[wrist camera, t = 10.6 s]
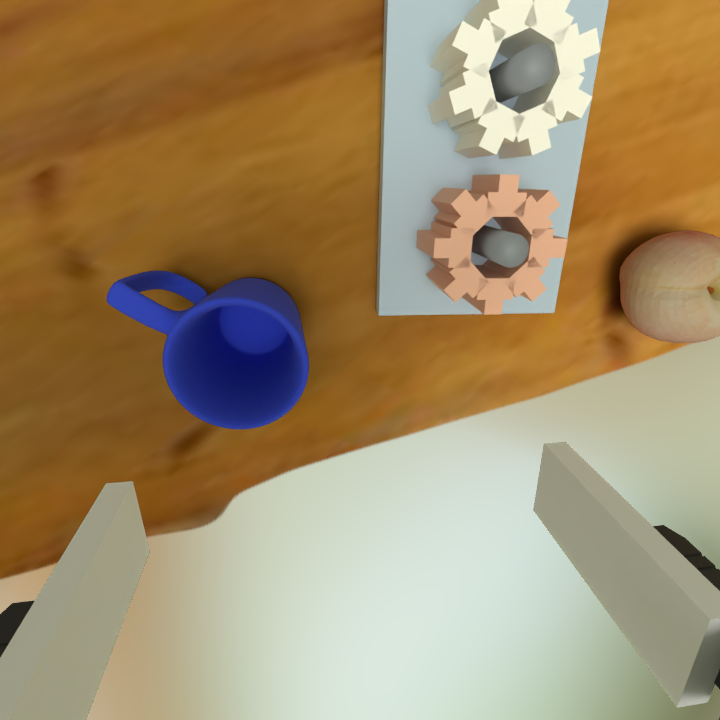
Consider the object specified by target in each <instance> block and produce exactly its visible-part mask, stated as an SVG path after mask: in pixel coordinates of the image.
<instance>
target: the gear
mask: <svg viewBox="0 0 720 720" xmlns="http://www.w3.org/2000/svg"><path fill="white" fill-rule="evenodd" d="M569 2H570V0H481V1H480V2H479V3H478V4H477V5H476V6H475V7H474V8H473V9H472V10H471V11H470V12H469V13H468V14H467V16H466V17H465V18H464V19H465V22H464V21H462V22H461V23H460V24H459V25H458V26H457V27H456V28H455V29H454V30H453V31H452V32H451V33H450V34H449V35H448V36H447V37H446V38H445V39H444V41H443V42H442V43H441V44H440V45H439V46H438V47H437V50H436V52H435V55H434V57H433V60H432V62H431V64H430V67H431V68H433V69H435V70H437V71H439V72H440V73H442V74H443V76H442V78H441V81H440V83H439V84H440V85H442V86H443V87H441V88H440V89H439V92H440V95H441V97H440V98H438V99H437V100H435V101H434V102H432V103H430V104H429V105H427V106H428V110H429V113H430V116H431V120H432V123H433V124H436V123H438V122H440V121H443V120H445V119H447V120H448V124H449V127H450V128H451V127H454V126H455V128H454V130H453V132H454V133H456V134H458V135H460V138H459V140H458V142H457V144H456V147H455V149H454V151H455V152H457V153H459V154H461V155H463V156H465V157H467V158H476V157H483V156H491V155H496V154H497V152H498V155H499V159H504V158H514V157H523V156H532V155H535V154H537V153H539V152H542V151H544V150H546V149H549V148H551V143H550V138H549V133H548V129H550V128H553V127H555V126H557V124H559V123H563V122H568V121H572V120H577V119H581V118H582V116H583V114H584V112H585V110H586V109H587V107H588V105H589V103H590V101H591V99H592V96H590V95H588V94H587V93H585V92H583V91H582V90H580V89H579V87H580V85H581V83H582V81H583V79H584V77H583V76H581V75H579V74H580V73H582V72H584V71H585V66H584V60H583V59H585V58H588V57H590V56H592V55H594V54H597V53H599V52H600V46H599V39H598V33H597V28H594V29H592V30H590V31H587V32H585V33H583V34H581V35H579V31H578V25H577V23H575V24H573V25H571V23H572V21H573V19H574V17H572V16H571V15H569V14H568V13H566V12H565V11H566V9H567V7H568V5H569ZM570 25H571V26H570ZM536 43H543V44H546V45H548V46H549V47H550V48H551V49H552V51H553V53H554V55H555V60H556V65H555V70H554V73H553V75H552V77H551V79H550V80H549V81H548V82H547V83H546V84H545V85H543V86H541V87H538V88H536V89H533V90H531V91H528V92H526V93H523V94H521V95H519V96H518V98H517V100H516V103H515V105H514V107H513V109H512V110H511V109H510V108H508V107H506V106H504V105H502V104H500V103H499V102H497V101H496V99H495V95H494V91H493V87H492V82H491V78H490V74H489V69H490V66H491V64H492V62H493V60H494V58H495V55H496V53H499V54H501V55H502V56H504V57H506V58H508V59H509V58H511V57H513V56H514V55H516V54H518V53H519V52H521V51H522V50H524V49H526V48H527V47H529V46H531V45H533V44H536Z"/></svg>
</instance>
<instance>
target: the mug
mask: <svg viewBox="0 0 720 720" xmlns="http://www.w3.org/2000/svg"><path fill="white" fill-rule="evenodd" d="M151 289H163V290H168V291H171V292H174V293H177V294H179V295H181V296H183V297H185V298H186V299H188V300H190V301H191V302H193V303H194V304H195V305H194V306H192V307H190V308H189V309H186V310H183V311H174V310H171V309H168V308H166V307H164V306H162V305H160V304H158V303H156V302H155V301H153V300H151V299H149V298H148V297H146V296H144V295H142V294H141V293H139V292H142V291H145V290H151ZM107 302H108V304H109V305H111V306H112V307H114V308H115V309H117V310H119V311H120V312H122V313H124V314H125V315H127V316H129V317H131V318H133V319H135V320H137V321H138V322H140V323H142V324H144V325H146V326H148V327H150V328H153V329H155V330H157V331H160V332H162V333H164V334H167V336H168V337H167V339H166V342H165V346H164V352H163V367H164V373H165V377H166V380H167V383H168V385H169V387H170V389H171V391H172V393H173V394H174V396H175V397H176V399H177V400H178V401H179V402H180V403H181V405H182V406H184V407H185V408H186V409H187V410H188V411H189V412H190V413H192V414H193V415H195V416H196V417H198V418H199V419H201V420H203V421H205V422H207V423H210V424H212V425H215V426H219V427H223V428H229V429H251V428H256V427H260V426H264V425H266V424H269V423H271V422H273V421H275V420H277V419H279V418H280V417H282V416H283V415H285V414H286V413H287V412H288V411H289V410H290V409H291V408H292V407H293V406H294V405H295V404H296V402H297V401H298V400H299V398H300V397H301V395H302V393H303V391H304V389H305V386H306V383H307V379H308V372H309V359H308V353H307V348H306V344H305V339H304V334H303V329H302V324H301V319H300V315H299V312H298V309H297V306H296V305H295V303H294V301H293V300H292V298H291V297H290V296H289V294H288V293H287V292H286V291H284V290H283V289H282V288H281V287H279V286H278V285H276V284H274V283H272V282H270V281H267V280H264V279H258V278H243V279H238V280H235V281H232V282H230V283H228V284H226V285H225V286H223V287H221V288H220V289H218V290H217V291H215V292H213V293H212V294H210V295H209V296H207V292H206V291H205V290H204V289H203V288H201V287H200V286H199V285H197V284H196V283H194V282H192V281H191V280H189V279H187V278H185V277H183V276H181V275H178V274H175V273H172V272H167V271H148V272H143V273H139V274H135V275H132V276H129V277H126V278H123V279H120V280H118V281H116V282H115V283H114V284H113V285H112V287H111V288H110V290H109V292H108V295H107Z"/></svg>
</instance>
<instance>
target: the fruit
mask: <svg viewBox="0 0 720 720" xmlns="http://www.w3.org/2000/svg"><path fill="white" fill-rule="evenodd" d="M619 279H620V289H621V304H622V307H623V310H624V313H625V315H626V317H627V318H628V320H629V321H630V323H631V324H632V325H633V326H634V327H635V328H636V329H637V330H639V331H640V332H641V333H643V334H644V335H646V336H649V337H652V338H654V339H657V340H660V341H666V342H672V343H696V342H702V341H706V340H710V339H713V338H715V337H718V336H720V238H719V237H717V236H714V235H711V234H707V233H703V232H698V231H687V230H686V231H676V232H669V233H665V234H662V235H659V236H657V237H654V238H652V239H650V240H648V241H646V242H645V243H643V244H641V245H640V246H639V247H637V248H636V249H635V250H634V251H632V252H631V254H630V255H629V256H628V257H627V258H626V259H625V261H624V262H623V264H622V266H621V268H620V275H619Z"/></svg>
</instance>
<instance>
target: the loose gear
mask: <svg viewBox="0 0 720 720" xmlns="http://www.w3.org/2000/svg"><path fill="white" fill-rule="evenodd" d="M519 177H520V175H508V174H495V175H473V177H472V188H471V190H466V189H458V188H442V189H441V190H440V191H439V192H438V193H437V194H436V195H435V196H434V197H433V198H432V199H431V201H432V203H433V204H434V205H435V206H436V207H437V208H438V210H439V212H438V213H437V214H436V215H435V216H434V218H435V220H436V221H431V230H417V242H416V247H417V248H418V249H420V250H421V251H423V252H425V253H426V254H428V255H429V256H431V257H432V258H431V261H432V262H433V263H434V264H435V266H434V267H433V268H432V269H431V270H430V271H429V272H428V273H427V274H426V276H427V277H428V278H429V279H430V280H431V281H432V282H433V283H434V284H435V285H436V286H437V287H438V288H439V289H440V290H441V291H442V292H444V293H445V294H446V295H447V296H448V297H450V298H451V299H452V300H453V301H454V302H455V303H456V302H457V301H458V300H459V299H460V298H461V297H462V298H463V299H465V300H466V301H467V302H469V303H470V304H471V305H472V306H474V307H475V308H476V309H478V310H479V311H480V312H481V313H483V314H484V315H491V314H502V308H503V300H511V299H512V298H513V296H515V297H516V298H517V297H518V296H519V295H521V296H523V297H525V298H527V299H529V300H530V301H532V302H533V301H534V300H535V299H536V298H537V297H538V296H540V295H541V294H542V293H543V292H544V291H545V290H546V289H547V288H546V287H545V286H544V285H543V283H542V282H541V281H540V280H539V277H540V276H541V275H542V274H544V273H545V270H544V269H543V268H542V267H548V264H549V258H564V257H565V252H566V246H567V240H568V239H567V238H563V237H559V236H554V235H553V234H554V229H553V228H549V227H551V226H552V225H553V223H552V222H551V220H550V219H549V218H548V216H549V215H550V214H551V213H553V212H554V211H555V210H556V209H557V208H558V207H559V206H560V203H559V202H558V200H557V199H556V198H555V196H554V195H553V194H552V192H551V191H550V190H539V189H518V185H519ZM492 217H493V218H494V219H495V221H496V222H497V223H498V224H499V226H500V227H501V230H505V231H508V232H512V233H516V234H519V235H522V236H523V237H524V238H525V239H526V240H527V242H528V246H529V251H528V255H527V257H526V259H525V260H524V261H523V262H522V263H521V264H520V265H518V266H516V267H513V268H508V267H504V266H502V265H500V264H498V263H495V262H493V261H491V260H489V259H488V260H487V261H486V262H485V263H484V264H483V265H473V263H472V262H471V261H470V260H471V250H472V241H473V235H474V234H475V233H476V232H477V231H478V230H479V229H480V228H481V227H482V226H483V225H484V224H485V223H486V222H488V221H489V220H490V219H491V218H492Z"/></svg>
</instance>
